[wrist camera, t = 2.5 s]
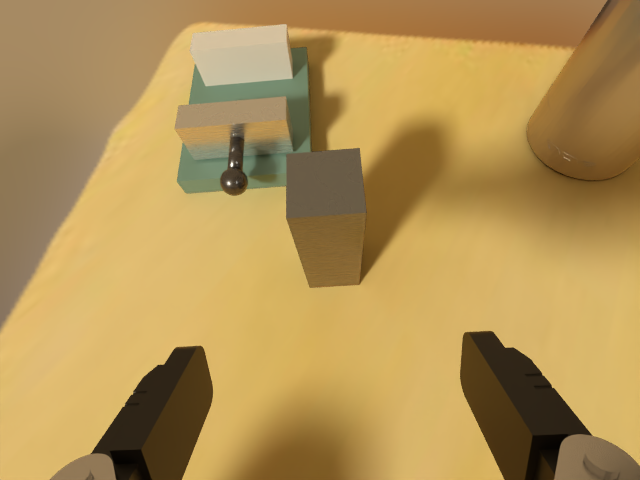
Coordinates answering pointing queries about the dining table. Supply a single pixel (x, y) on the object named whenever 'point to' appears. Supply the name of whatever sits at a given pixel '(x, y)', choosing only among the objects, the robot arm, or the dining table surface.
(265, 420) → the dining table surface
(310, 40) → the dining table surface
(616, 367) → the dining table surface
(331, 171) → the steel bar
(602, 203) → the dining table surface
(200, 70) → the vise
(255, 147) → the vise jaw
